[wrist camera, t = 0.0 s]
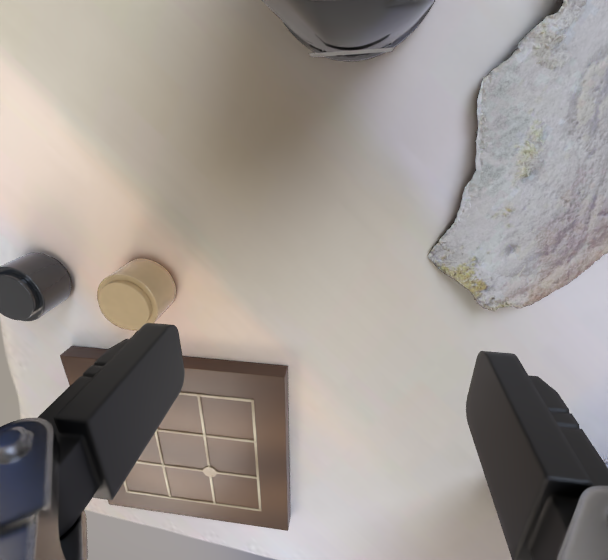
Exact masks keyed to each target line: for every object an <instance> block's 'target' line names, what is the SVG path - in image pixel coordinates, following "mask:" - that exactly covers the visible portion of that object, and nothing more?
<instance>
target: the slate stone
mask: <svg viewBox="0 0 608 560" xmlns="http://www.w3.org/2000/svg"><path fill="white" fill-rule="evenodd" d="M70 292H71V279H70V275H69V273H68V271H67V270H66V268H65V267H64V266H63V265H62V264H61V263H60V262H59V261H58V260H56V259H55V258H53V257H50V256H48V255H45V254H42V253H28V254H26V255H23V256H21V257H19V258H17V259H15V260H12V261H10V262H8V263H6V264H4V265H1V266H0V313H1V314H3V315H4V316H6V317H8V318H11V319H14V320H21V321H33V320H36V319H38V318H39V317H41V316H42V315H44V314H45V313H47V312H48V311H50V310H51V309H53V308H54V307H56V306H57V305H59V304H60V303H62V302H63V301H65V300H66V299H67V298H68V297H69V295H70Z"/></svg>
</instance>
